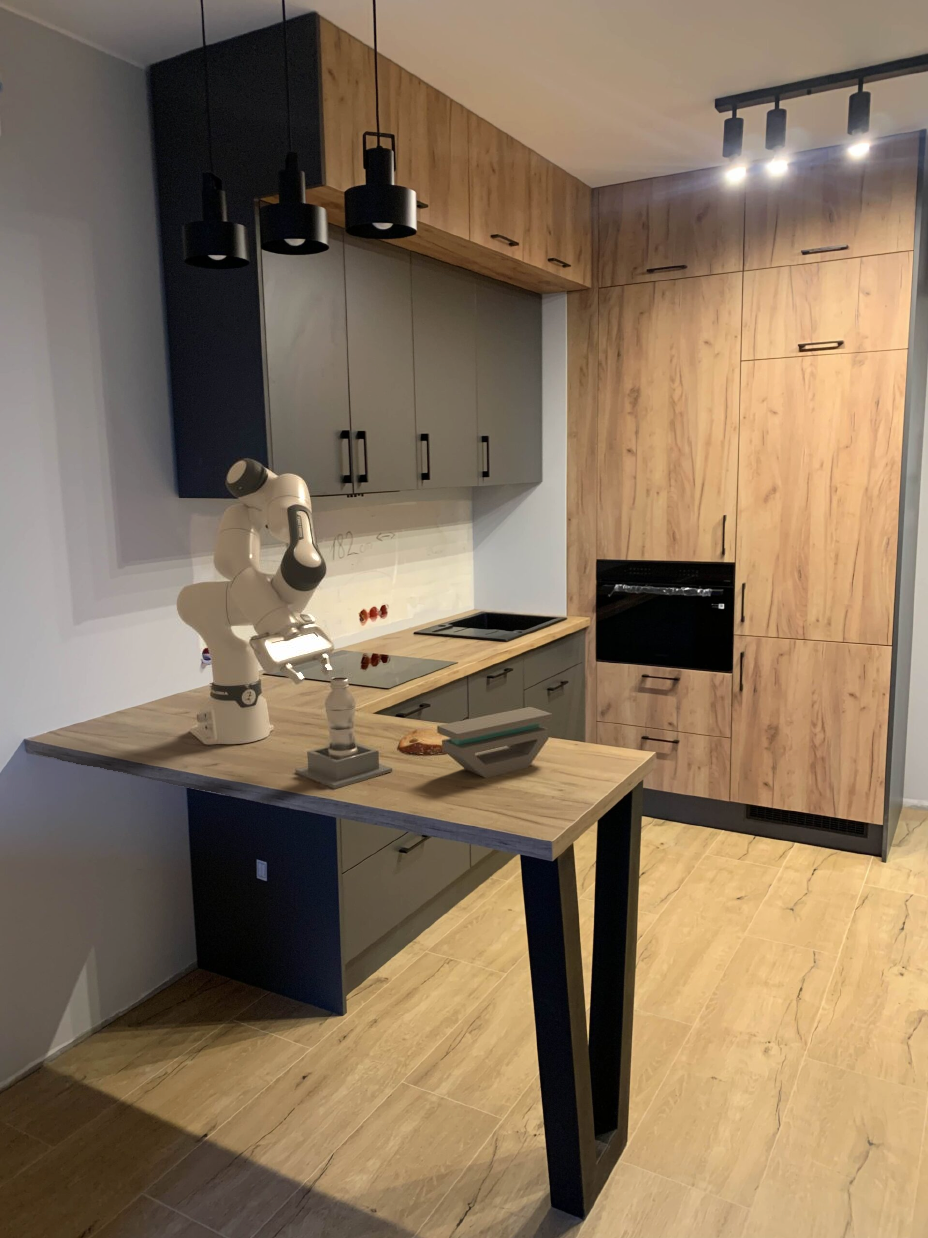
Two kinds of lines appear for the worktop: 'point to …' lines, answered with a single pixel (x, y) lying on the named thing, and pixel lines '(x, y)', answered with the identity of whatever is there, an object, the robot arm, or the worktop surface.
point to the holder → (342, 767)
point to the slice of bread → (422, 742)
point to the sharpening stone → (496, 741)
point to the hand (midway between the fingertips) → (315, 677)
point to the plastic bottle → (341, 720)
